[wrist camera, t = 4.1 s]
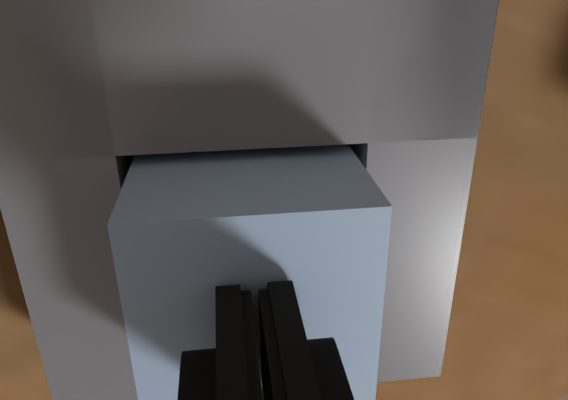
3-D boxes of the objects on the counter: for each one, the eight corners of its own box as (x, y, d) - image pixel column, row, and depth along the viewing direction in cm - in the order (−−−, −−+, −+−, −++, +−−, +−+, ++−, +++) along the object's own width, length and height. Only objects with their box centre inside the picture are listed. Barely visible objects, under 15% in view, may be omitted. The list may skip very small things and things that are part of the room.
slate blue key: (137, 146, 14) (107, 224, 10) (342, 136, 15) (392, 205, 10) (161, 315, 16) (143, 433, 12) (336, 300, 17) (374, 409, 13)
